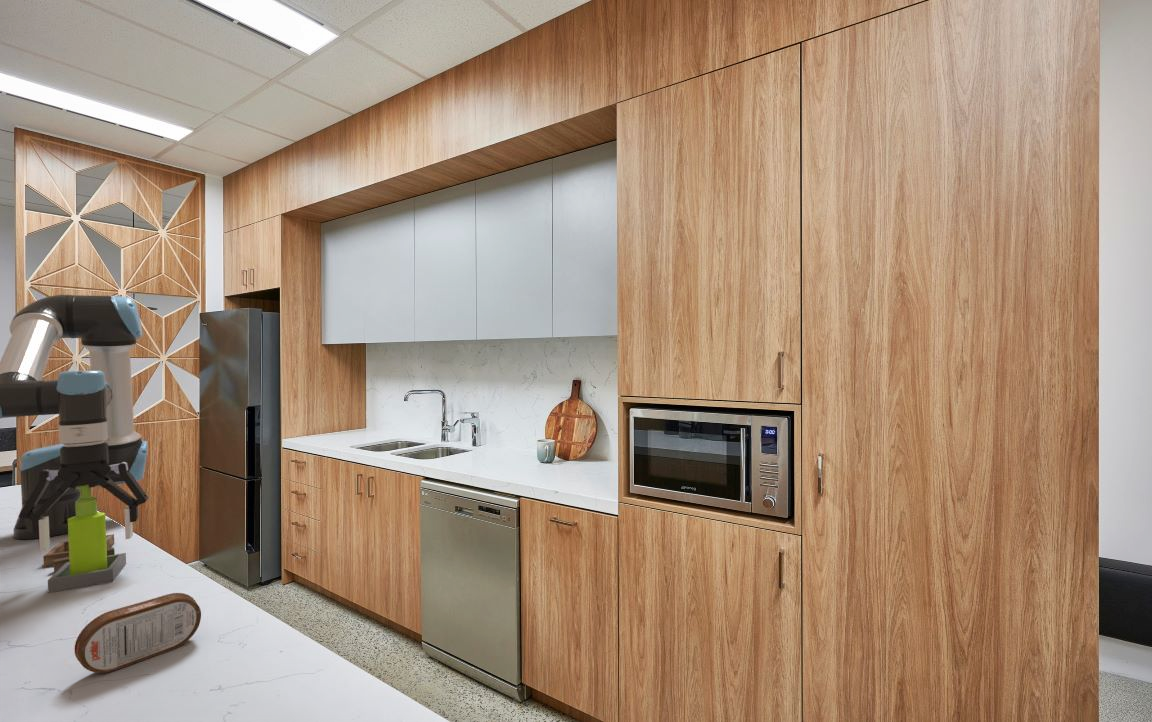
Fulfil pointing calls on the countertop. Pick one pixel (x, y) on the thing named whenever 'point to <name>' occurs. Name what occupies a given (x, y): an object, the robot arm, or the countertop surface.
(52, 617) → the countertop surface
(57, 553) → the walnut holder
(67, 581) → the keeper frame
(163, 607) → the tin
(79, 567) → the soap dispenser
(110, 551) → the door edge rail
